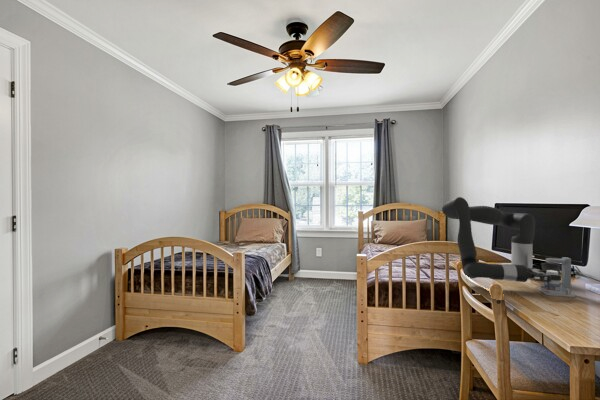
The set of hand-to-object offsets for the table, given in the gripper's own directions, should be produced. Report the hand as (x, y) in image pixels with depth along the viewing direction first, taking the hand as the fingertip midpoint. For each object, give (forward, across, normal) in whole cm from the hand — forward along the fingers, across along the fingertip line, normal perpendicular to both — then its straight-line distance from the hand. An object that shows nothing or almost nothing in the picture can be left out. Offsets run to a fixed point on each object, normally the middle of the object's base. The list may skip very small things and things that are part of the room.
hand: (555, 275), depth 135 cm
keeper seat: (0, 0, +8) cm, 8 cm away
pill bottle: (-1, 0, +7) cm, 7 cm away
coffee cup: (+5, +16, +8) cm, 18 cm away
